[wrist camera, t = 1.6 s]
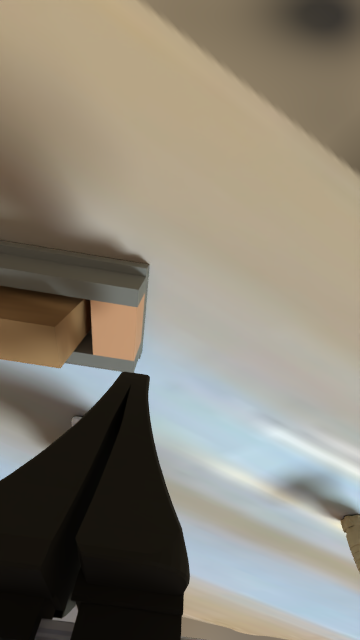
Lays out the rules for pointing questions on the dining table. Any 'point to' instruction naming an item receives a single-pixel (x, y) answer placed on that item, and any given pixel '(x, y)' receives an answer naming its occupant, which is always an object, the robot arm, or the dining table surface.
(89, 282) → the rail
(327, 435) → the dining table surface
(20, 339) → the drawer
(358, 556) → the handle
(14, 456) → the dining table surface
